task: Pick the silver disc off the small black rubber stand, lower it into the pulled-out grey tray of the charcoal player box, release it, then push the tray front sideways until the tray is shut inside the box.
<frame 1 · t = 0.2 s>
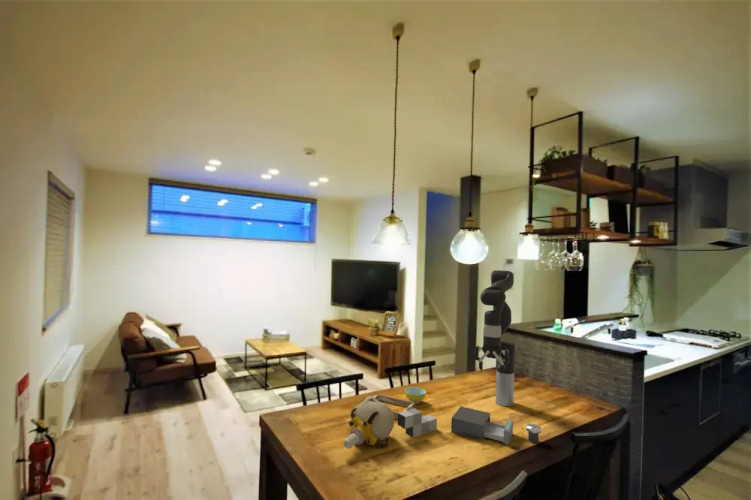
hand: (491, 371, 162), 29 cm above the table, fingers open, 8 cm apart
serving frame: (388, 409, 188), on the table
housing: (470, 429, 168), on the table
decorative object: (360, 442, 153), on the table
tray: (493, 427, 163), point 3 cm above the table, slide at 8.0 cm
bowl: (415, 402, 198), on the table
block: (417, 433, 163), on the table
stand: (533, 441, 159), on the table
disc: (533, 430, 159), point 5 cm above the table, touching stand
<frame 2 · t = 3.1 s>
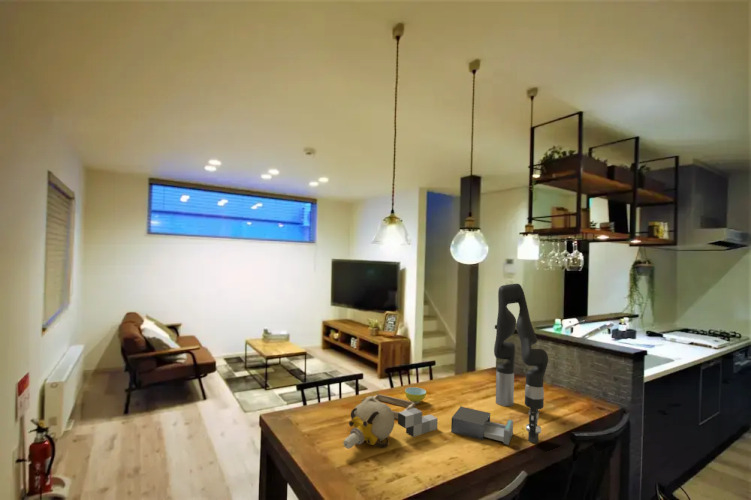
hand: (533, 434, 159), 3 cm above the table, fingers closed on disc, 6 cm apart
disc: (533, 430, 159), point 5 cm above the table, touching gripper, stand
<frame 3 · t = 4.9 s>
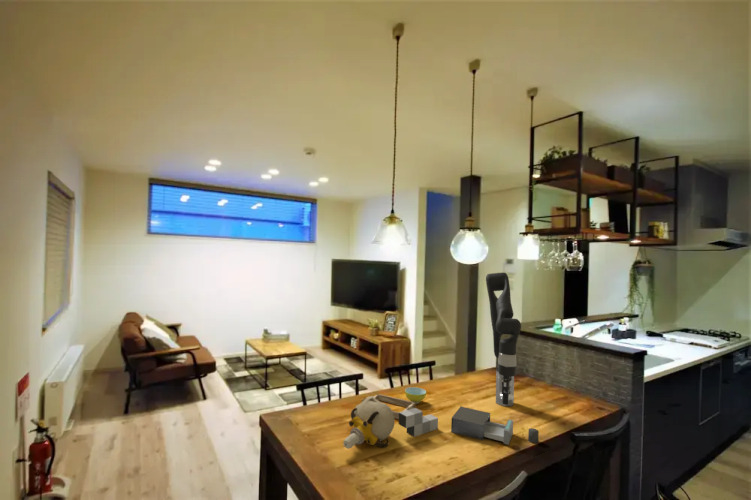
hand: (506, 401, 162), 16 cm above the table, fingers closed on disc, 6 cm apart
disc: (506, 398, 162), point 17 cm above the table, touching gripper
everything else where it was.
when the fingers open (2 cm above the table, at t = 7.2 s): disc drops 2 cm, resting on tray.
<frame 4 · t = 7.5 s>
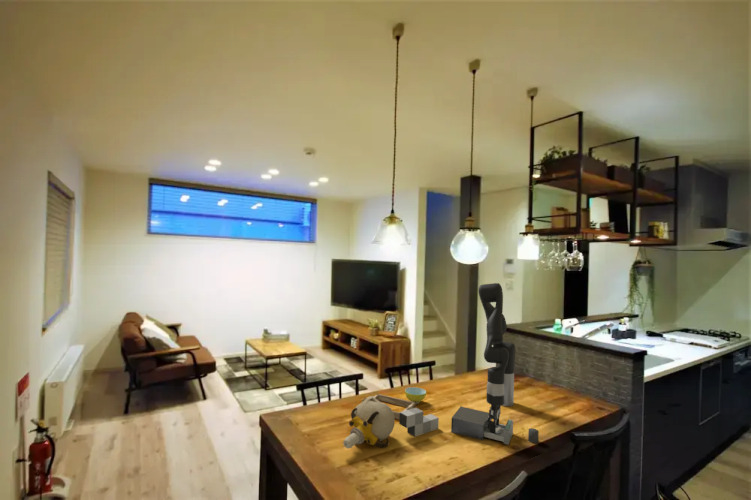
hand: (494, 428, 163), 3 cm above the table, fingers open, 8 cm apart
tray: (493, 427, 163), point 3 cm above the table, slide at 8.0 cm, touching disc
disc: (494, 431, 163), point 2 cm above the table, touching tray
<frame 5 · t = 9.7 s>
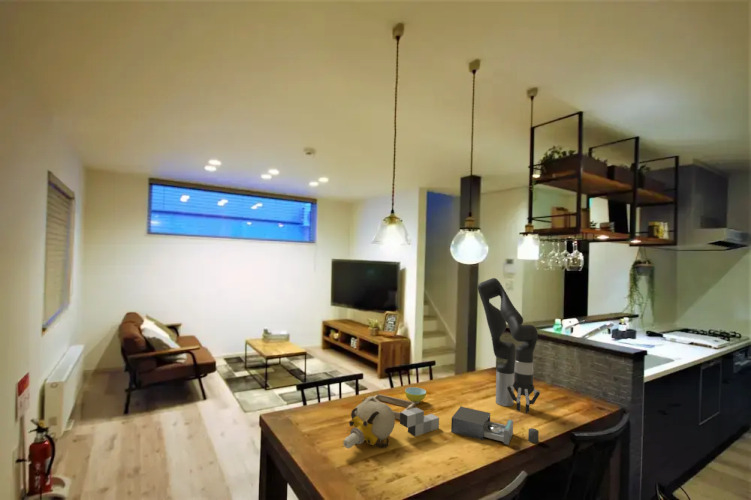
hand: (522, 411, 158), 13 cm above the table, fingers closed
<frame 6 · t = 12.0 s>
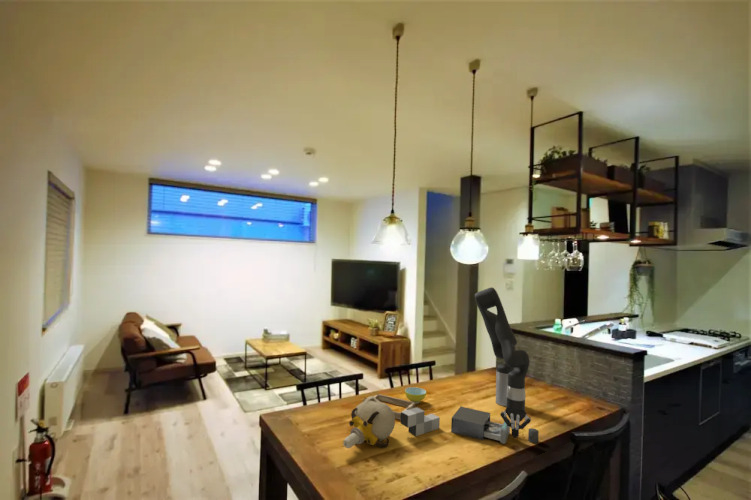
hand: (515, 437, 159), 1 cm above the table, fingers closed
tray: (490, 427, 164), point 3 cm above the table, slide at 6.7 cm, touching disc, gripper
disc: (491, 430, 163), point 2 cm above the table, touching tray
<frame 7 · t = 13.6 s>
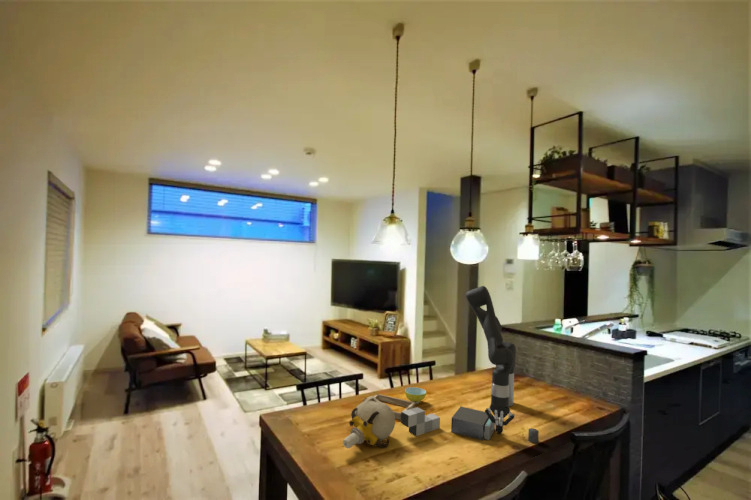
hand: (499, 433, 162), 1 cm above the table, fingers closed
tray: (475, 423, 167), point 3 cm above the table, slide at 0.1 cm, touching disc, gripper
disc: (476, 426, 167), point 2 cm above the table, touching tray
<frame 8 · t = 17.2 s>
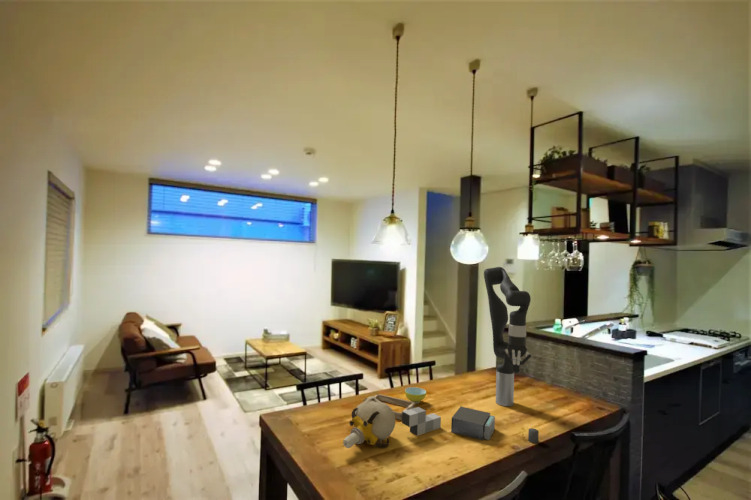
hand: (516, 372, 167), 27 cm above the table, fingers closed
tray: (475, 423, 167), point 3 cm above the table, slide at 0.0 cm, touching disc
at the end: tray slide at 0.0 cm; disc inside the target area on the housing (1.2 cm from its centre), point 2.1 cm above the housing's base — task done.
